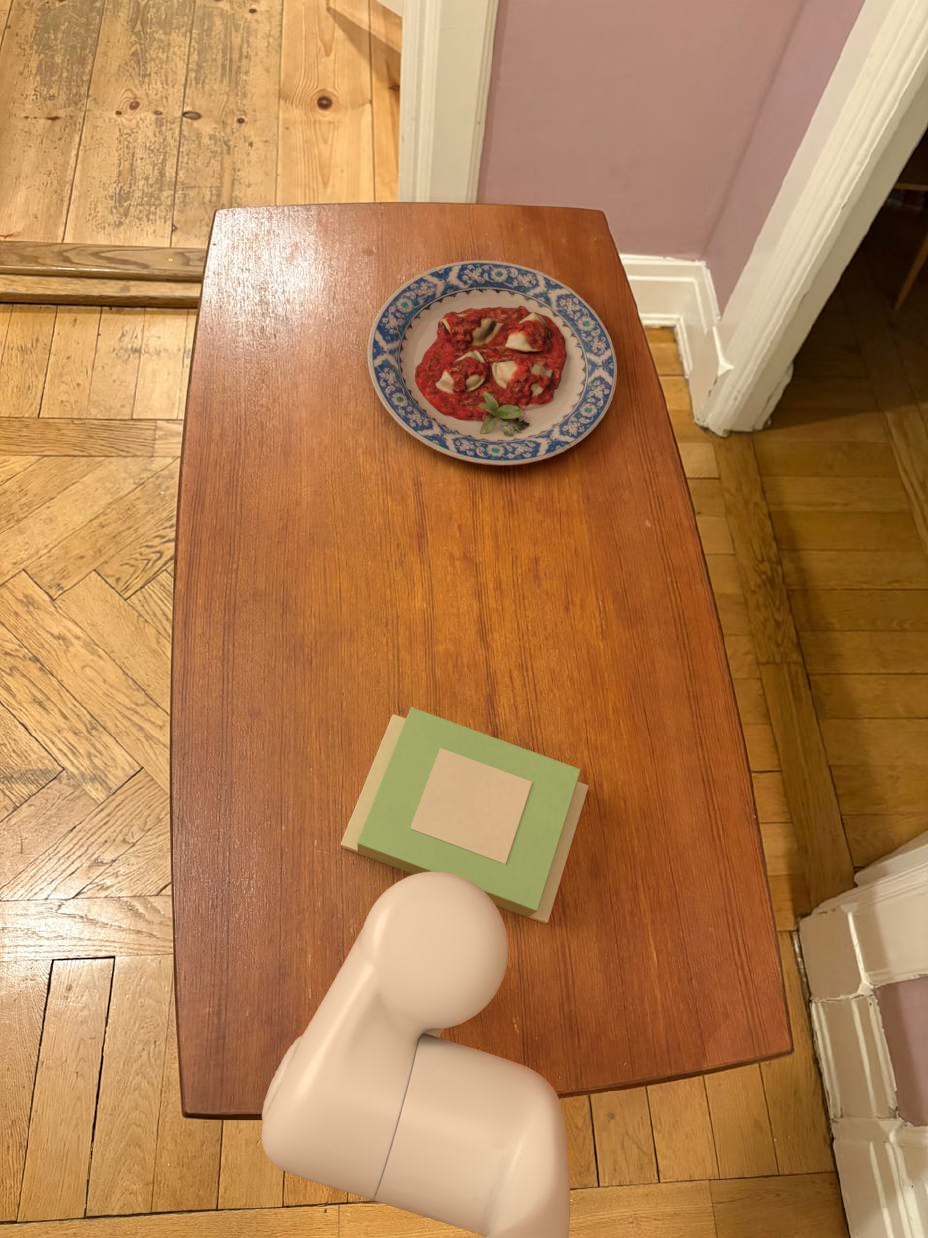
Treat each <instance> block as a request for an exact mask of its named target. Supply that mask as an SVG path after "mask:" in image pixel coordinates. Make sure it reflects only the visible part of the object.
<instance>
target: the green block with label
mask: <svg viewBox="0 0 928 1238" xmlns="http://www.w3.org/2000/svg"><path fill="white" fill-rule="evenodd" d="M580 774H581V768H579V767H577V766H574V765H570V764H568V763H565V762H562V761H560V760H558V759H554V758H551V757H549V756H546V755H543V754H541V753H538V752H535V751H533V750H530V749H527V748H524V747H522V746H519V745H516V744H513V743H511V742H508V741H506V740H503V739H500V738H497V737H494V736H492V735H489V734H486V733H484V732H481V731H478V730H476V729H473V728H470V727H467V726H464V725H462V724H459V723H457V722H453V721H451V720H448V719H445V718H443V717H440V716H438V715H435V714H433V713H430V712H427V711H424V710H421V709H418V708H416V707H413V706H410V708H409V711H408V713H407V715H406V717H403V716H400V715H398V714H395V713H392V715H391V717H390V719H389V721H388V725H387V727H386V730H385V732H384V735H383V737H382V740H381V742H380V744H379V747H378V749H377V751H376V755H375V756H374V759H373V762H372V764H371V767H370V769H369V772H368V774H367V777H366V779H365V782H364V784H363V787H362V789H361V791H360V794H359V796H358V799H357V801H356V804H355V806H354V809H353V812H352V814H351V817H350V818H349V822H348V824H347V825H346V826H347V827H346V829H345V831H344V833H343V836H342V838H341V841H340V848H342V849H345V850H347V851H350V852H353V853H356V854H358V855H360V856H363V857H366V858H368V859H371V860H374V861H376V862H379V863H382V864H385V865H387V866H390V867H393V868H395V869H397V870H401V871H402V872H406V873H409V874H411V875H414V874H418V873H423V872H436V871H437V872H446V873H451V874H455V875H458V876H461V877H463V878H465V879H467V880H469V881H471V882H473V883H474V884H476V885H477V886H478V887H480V888H481V889H482V890H483V891H484V892H485V893H486V894H487V895H488V896H489V897H490V898H491V900H492V901H493V903H494V904H495V906H496V907H497V908H501V909H504V910H507V911H509V912H512V913H515V914H517V915H520V916H523V917H525V918H528V919H530V920H533V921H535V922H538V923H541V924H544V925H546V924H548V923H549V920H550V917H551V913H552V910H553V908H554V904H555V901H556V897H557V894H558V891H559V886H560V884H561V881H562V877H563V874H564V870H565V866H566V864H567V860H568V857H569V853H570V850H571V847H572V844H573V840H574V836H575V833H576V830H577V827H578V824H579V820H580V816H581V815H582V814H581V813H582V810H583V807H584V803H585V801H586V797H587V793H588V790H589V786H590V785H589V784H585V783H584V782H580V781H578V780H579V777H580Z"/></svg>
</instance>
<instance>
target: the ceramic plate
mask: <svg viewBox="0 0 928 1238" xmlns="http://www.w3.org/2000/svg"><path fill="white" fill-rule="evenodd" d="M366 351H367V352H366V357H367V366H368V370H369V376H370V379H371V382H372V386H373V388H374V390H375V393H376V395H377V397H378V398H379V400H380V402H381V403H382V405H383V407H384V409H385V411H387V413H388V414H389V415H390V416H391V418H393V420H394V421H395V422H396V423H397V424H398V425H399V426H400V427H402V429H404V430H405V432H407V433H408V434H409V435H411V436H412V437H413V438H415V439H416V440H418V441H419V442H421V443H423V444H424V445H426V446H427V447H429V448H431V449H433V450H434V451H437V452H439V453H442V454H444V455H447V456H449V457H452V458H455V459H458V460H461V461H465V462H469V463H474V464H479V465H480V464H481V465H489V466H516V465H525V464H530V463H536V462H539V461H543V460H546V459H550V458H552V457H554V456H557V455H559V454H561V453H564V452H566V451H568V450H570V448H572V447H574V446H575V445H577V444H579V443H580V442H581V441H583V440H584V439H585V438H586V437H588V436H589V434H591V433H592V432H593V430H594V429H595V428H596V427H597V426H598V425H599V423H600V422H601V421H602V419H603V418H604V416H605V414H606V413H607V411H608V409H609V407H610V405H611V403H612V401H613V398H614V394H615V392H616V387H617V374H618V365H617V358H616V357H617V356H616V351H615V348H614V344H613V342H612V338H611V336H610V334H609V332H608V330H607V328H606V326H605V324H604V323H603V321H602V319H601V318H600V317H599V315H598V314H597V312H596V311H595V310H594V309H593V308H592V306H590V304H589V303H587V301H586V300H585V299H584V298H583V297H581V296H580V295H579V294H578V293H577V292H575V291H574V290H573V289H572V288H570V287H569V286H567V285H566V284H564V283H563V282H561V281H559V280H557V278H554V277H552V276H550V275H548V274H547V273H544V272H543V271H540V270H537V269H533V268H531V267H527V266H523V265H520V264H516V263H512V262H506V261H499V260H488V259H487V260H486V259H485V260H484V259H483V260H481V259H480V260H478V259H477V260H475V259H474V260H464V261H458V262H457V261H456V262H452V263H446V264H443V265H440V266H436V267H433V268H431V269H428V270H426V271H424V272H421V273H419V274H418V275H416V276H414V277H412V278H411V279H409V280H408V281H406V282H405V283H403V284H402V285H401V286H400V287H399V288H398V289H396V290H394V292H393V293H392V294H391V295H390V296H389V297H388V298H387V299H386V301H385V302H384V303H383V305H381V307H380V309H379V311H378V312H377V314H376V315H375V318H374V320H373V323H372V325H371V329H370V331H369V336H368V341H367V349H366Z"/></svg>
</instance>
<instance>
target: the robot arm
mask: <svg viewBox="0 0 928 1238" xmlns="http://www.w3.org/2000/svg"><path fill="white" fill-rule="evenodd" d="M509 951H510V949H509V938H508V932H507V928H506V925H505V921H504V918H503V917H502V914H501V912H500V910H499V909H498V906H496V905H495V904H494V903H493V901H492V900H491V898H490V897H489V896H488V895H487V894H486V893H485V892H484V891H483V890H482V889H481V888H480V887H478V886H477V885H476V884H474V883H473V882H471V881H469V880H467V879H465V878H463V877H461V876H458V875H455V874H451V873H446V872H437V871H436V872H423V873H418V874H411V875H409V876H406V877H405V878H403V879H401V880H399V881H397V882H395V883H394V884H393V885H391V886H390V887H388V888H387V889H386V890H385V891H384V892H383V893H381V895H380V896H379V897H378V898H377V900H376V901H375V902H374V904H373V905H372V907H371V909H370V910H369V913H367V916H366V919H365V921H364V923H363V927H362V928H361V930H360V932H359V933H358V936H357V937H356V939H355V941H354V943H353V945H352V947H351V949H350V951H349V953H348V954H347V956H346V958H345V960H344V962H343V964H342V965H341V967H340V969H339V971H338V972H337V974H336V976H335V978H334V980H333V981H332V983H331V985H330V987H329V989H328V990H327V992H326V994H325V995H324V997H323V999H322V1000H321V1003H320V1004H319V1006H318V1007H317V1009H316V1011H315V1013H314V1014H313V1016H312V1017H311V1020H310V1022H309V1023H308V1025H307V1027H306V1028H305V1030H304V1032H303V1034H301V1035H300V1036H298V1037H297V1038H296V1039H295V1040H294V1041H293V1044H291V1045H290V1046H289V1048H287V1051H286V1052H285V1054H284V1056H283V1057H282V1059H281V1062H280V1064H279V1066H278V1068H277V1069H276V1070H275V1072H274V1076H273V1077H272V1079H271V1082H270V1085H269V1087H268V1089H267V1093H266V1096H265V1099H264V1101H263V1106H262V1109H261V1110H262V1111H261V1121H262V1124H261V1144H262V1149H263V1152H264V1154H265V1156H266V1157H267V1159H268V1160H269V1161H270V1163H271V1164H273V1165H274V1166H275V1167H276V1168H278V1169H280V1170H281V1171H283V1172H285V1173H287V1174H289V1175H292V1176H294V1177H297V1178H300V1179H303V1180H306V1181H310V1182H312V1183H316V1184H319V1185H321V1186H325V1187H329V1188H332V1189H335V1190H337V1191H341V1192H344V1193H348V1194H352V1195H354V1196H357V1197H361V1198H364V1199H366V1200H371V1201H374V1202H378V1203H381V1204H384V1205H386V1206H390V1207H393V1208H396V1209H399V1210H401V1211H406V1212H408V1213H411V1214H414V1215H417V1216H421V1217H424V1218H426V1219H430V1220H433V1221H437V1222H440V1223H442V1224H446V1225H449V1226H452V1227H455V1228H458V1229H462V1230H464V1231H466V1232H469V1233H472V1234H476V1235H479V1236H482V1237H483V1238H569V1237H570V1235H569V1234H570V1221H571V1183H570V1171H569V1170H570V1169H569V1167H570V1166H569V1150H568V1146H569V1145H568V1136H567V1135H568V1134H567V1126H566V1121H565V1114H564V1110H563V1106H562V1103H561V1100H560V1098H559V1096H558V1094H557V1092H556V1090H555V1089H554V1087H553V1086H552V1084H551V1083H550V1082H549V1081H548V1080H547V1079H546V1078H545V1077H544V1076H543V1075H541V1074H540V1073H538V1072H537V1071H536V1070H534V1069H532V1068H530V1067H528V1066H526V1065H524V1064H521V1063H518V1062H515V1061H512V1060H510V1059H507V1058H504V1057H501V1056H498V1055H496V1054H494V1053H493V1054H492V1053H489V1052H486V1051H484V1050H481V1049H477V1048H474V1047H470V1046H467V1045H464V1044H461V1043H458V1042H455V1041H452V1040H448V1039H445V1038H443V1037H442V1038H441V1035H442V1032H443V1030H444V1029H448V1028H452V1027H455V1026H459V1025H461V1024H463V1023H465V1022H467V1021H469V1020H470V1019H473V1018H474V1017H476V1016H477V1015H478V1014H479V1013H480V1012H482V1011H484V1009H485V1008H486V1007H487V1006H488V1005H489V1004H490V1003H491V1001H492V1000H493V999H494V997H495V996H496V994H497V993H498V991H499V989H500V988H501V986H502V983H503V981H504V978H505V975H506V972H507V967H508V962H509Z"/></svg>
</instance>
